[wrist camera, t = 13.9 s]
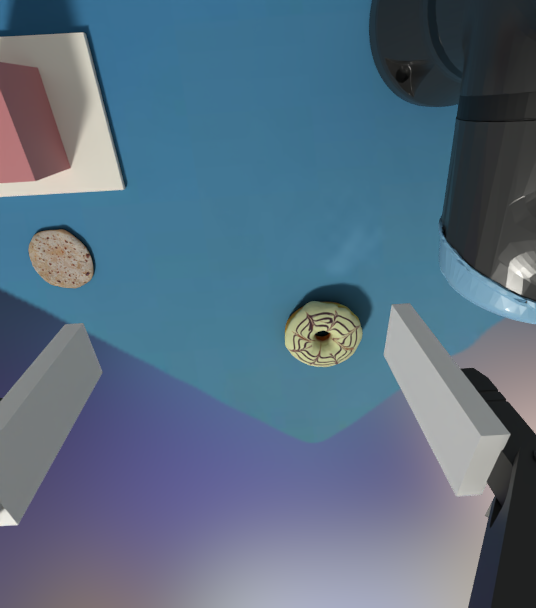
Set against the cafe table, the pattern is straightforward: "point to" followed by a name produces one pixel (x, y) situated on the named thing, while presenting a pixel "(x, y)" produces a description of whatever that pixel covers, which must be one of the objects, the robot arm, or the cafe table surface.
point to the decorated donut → (326, 348)
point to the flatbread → (61, 258)
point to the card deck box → (27, 127)
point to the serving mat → (68, 113)
